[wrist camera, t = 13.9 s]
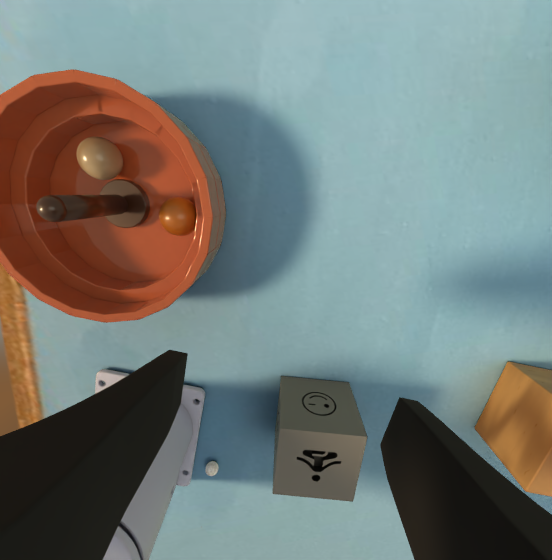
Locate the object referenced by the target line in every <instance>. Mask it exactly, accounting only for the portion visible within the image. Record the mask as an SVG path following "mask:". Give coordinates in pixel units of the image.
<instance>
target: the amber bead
mask: <svg viewBox="0 0 552 560" xmlns="http://www.w3.org/2000/svg"><path fill="white" fill-rule="evenodd" d="M196 216H197V213H196V207H195V205H194V204H193V203H192V202H191V201H190V200H188V199H186V198H183V197H173V198H170V199H168V200H166V201H165V202H164V203H163V204H162V206H161V208H160V211H159V219H160V223H161V225H162V226H163V228H164V229H165V230H166V231H167V232H169V233H170V234H173V235H176V236H185V235H188V234H190V233H192V232H193V231H194V230H195V224H196Z"/></svg>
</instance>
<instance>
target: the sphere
mask: <svg viewBox="0 0 552 560" xmlns="http://www.w3.org/2000/svg"><path fill="white" fill-rule="evenodd" d="M217 472H218V464H217V463H216V462H215V461H211V462H209V463H208V464H207V465H206V473H207V475H209V476H214V475H215V474H216V473H217Z"/></svg>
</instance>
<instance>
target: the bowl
mask: <svg viewBox="0 0 552 560" xmlns="http://www.w3.org/2000/svg"><path fill="white" fill-rule="evenodd" d="M89 137H102V138H105V139H107V140H109V141H111V142H112V143H113V144H115V145H116V146H117V148H118V149H119V150H120V152H121V154H122V157H123V168H122V170H121V172H120V173H119V175H117V176H116V177H115V178H112V179H109V180H100V179H96V178H93V177H91V176H90V175H88V174H87V173H86V172H85V171H84V170H83V169H82V168H81V167H80V165H79V163H78V160H77V148H78V146H79V144H80V143H81V142H82V141H83V140H85V139H86V138H89ZM116 179H123V180H130V181H133V182H135V183H136V184H138V185H139V186H141V187H142V189H143V190H144V191H145V192H146V194H147V196H148V199H149V203H150V211H149V215H148V217H147V219H146V220H145V221H144V222H143V223H142V224H140V225H139V226H136V227H131V228H121V227H118V226H115V225H114V224H112V223H111V222H109V221H108V220H107V219H106V218H105V216H103V217H95V218H87V219H79V220H71V221H63V222H50V221H47V220H45V219H43V218H42V217H41V216H40V215H39V214H38V212H37V209H36V204H37V202H38V200H39V199H40V198H41V197H43V196H46V195H100V192H101V190H102V188H103V187H104V186H105V185H106V184H107V183H108V182H110V181H112V180H116ZM173 197H183V198H186V199H188V200H190V201H191V202H192V203H193V204H194V205H195V207H196V213H197V216H196V224H195V230H194V231H193V232H192V233H190V234H188V235H185V236H176V235H173V234H170V233H169V232H167V231H166V230H165V229H164V228H163V226H162V225H161V223H160V219H159V211H160V208H161V206H162V204H163V203H164V202H165V201H166V200H168V199H170V198H173ZM225 218H226V208H225V201H224V194H223V188H222V181H221V178H220V176H219V174H218V172H217V170H216V168H215V166H214V164H213V161H212V159H211V157H210V155H209V153H208V151H207V149H206V147H205V146H204V145H203V144H202V143H201V142H200V141H199V139H198V138H197V137H196V136H195V135H194V134H193V133H192V132H191V130H190V129H189V128H188V127H187V126H186V125H185V124H184V123H183V122H182V121H181V120H180V119H178V118H177V117H175V116H174V115H173V114H171V113H170V112H168V111H167V110H166V109H164V108H163V107H161V106H160V105H159V104H157V103H156V102H154V101H152V100H151V99H149V98H148V97H146V96H144V95H143V94H141V93H139V92H138V91H136V90H134V89H133V88H131V87H129V86H128V85H126V84H125V83H123V82H121V81H120V80H117V79H115V78H110V77H106V76H101V75H97V74H93V73H88V72H84V71H80V70H66V71H59V72H51V73H44V74H37V75H33V76H31V77H29V78H27V79H26V80H24V81H22V82H21V83H19V84H17V85H16V86H14V87H12V88H11V89H9V90H7V91H6V92H4V93H2V94H1V95H0V262H1V264H2V265H3V267H4V268H5V269H6V271H7V272H8V274H10V276H12V277H13V278H14V279H15V280H16V281H17V282H19V283H20V284H21V285H22V286H23V287H24V288H26V289H27V290H28V291H29V292H30V293H31V294H33V295H34V296H35V297H36V298H37V299H39V300H41V301H43V302H45V303H47V304H49V305H51V306H53V307H55V308H57V309H59V310H61V311H63V312H65V313H67V314H69V315H72V316H75V317H80V318H85V319H90V320H95V321H100V322H106V323H107V322H118V321H130V320H138V319H142V318H144V317H146V316H149V315H151V314H153V313H156V312H158V311H160V310H163V309H165V308H167V307H168V306H170V305H171V304H172V303H173V302H174V301H175V300H177V299H178V298H179V297H180V296H181V295H182V294H183V293H184V292H185V291H186V290H187V289H188V288H189V287H191V286H192V285H193V284H194V283H195V282H196V281H197V280H198V279H199V278H200V277H201V276H202V275H203V274H204V273H205V272H206V271H207V269H208V268H209V267H210V265H211V263H212V261H213V259H214V257H215V255H216V253H217V251H218V249H219V248H220V246H221V243H222V237H223V231H224V225H225Z"/></svg>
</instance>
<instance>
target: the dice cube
mask: <svg viewBox="0 0 552 560" xmlns="http://www.w3.org/2000/svg"><path fill="white" fill-rule="evenodd" d="M366 441H367V434H366V431H365V428H364V425H363V422H362V419H361V416H360V413H359V411H358V408H357V405H356V402H355V399H354V396H353V393H352V390H351V387H350V384H349V382H339V381H328V380H318V379H307V378H297V377H286V376H281V382H280V392H279V401H278V410H277V419H276V428H275V447H274V472H273V494H280V495H290V496H301V497H311V498H322V499H332V500H342V501H353V499H354V495H355V490H356V486H357V481H358V477H359V472H360V468H361V463H362V459H363V454H364V450H365V446H366Z"/></svg>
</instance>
